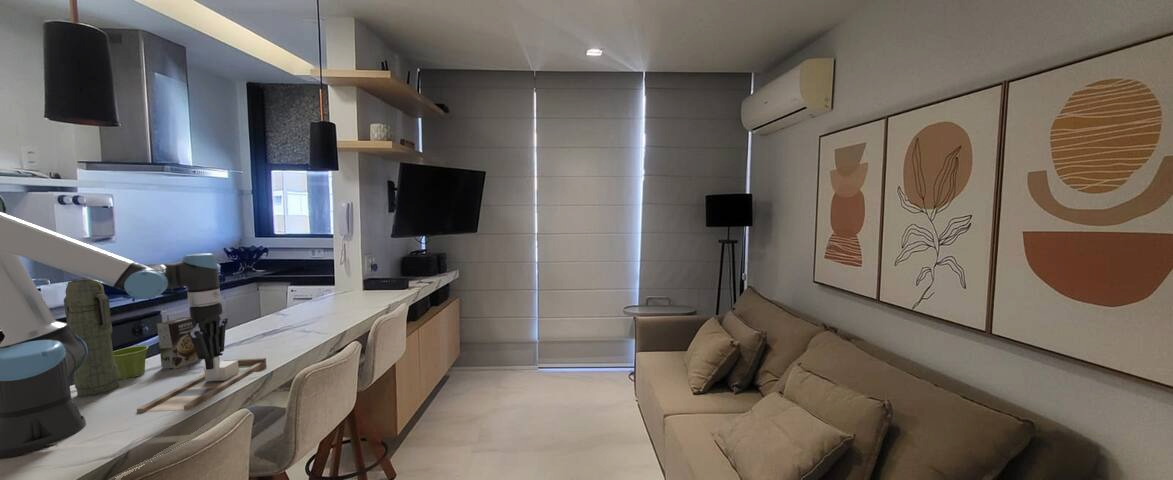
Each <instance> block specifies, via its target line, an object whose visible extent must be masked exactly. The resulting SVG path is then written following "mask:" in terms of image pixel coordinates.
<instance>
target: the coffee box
mask: <svg viewBox="0 0 1173 480" xmlns="http://www.w3.org/2000/svg"><path fill="white" fill-rule="evenodd" d="M194 323H195V320H194V319H192V318H191V317H190V316H187V317H186V316H185V317H179V318H175V319H172V320H167V321H162V322H159V323H156V325H157V335H158V345H159V346H158V347H159V353H160V354H159V355H160V365H161V368H162V367H163V368H162V369H169V368H173V370H176V369H179V368H180V369H181V368H182V367H185V366H188V365H191V364H194V363H197V362H199V361H202V360H203V359H198V357H197V354H196V351H195V348H194V345H193V343H192V340H191V338H190V337H189V336H188V332H189V331H193V329H194Z"/></svg>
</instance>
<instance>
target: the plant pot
mask: <svg viewBox="0 0 1173 480" xmlns="http://www.w3.org/2000/svg"><path fill="white" fill-rule="evenodd" d="M148 350H149V346H148V345H137V346H131V347H126V348H125V347H124V348H120V349H117V350H113V357H114V362H115V363H116V365H117V367H118V375H119V379H120V380H125V379H124V378H126V379H127V378H131V377H132V378H136V377H139V376H142V375H143V374H144V373H145V372H146V359H147V358H146V356H147V352H148ZM135 376H136V377H135ZM119 379H118V380H119Z"/></svg>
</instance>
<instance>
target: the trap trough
mask: <svg viewBox="0 0 1173 480" xmlns="http://www.w3.org/2000/svg"><path fill="white" fill-rule="evenodd" d="M235 360H236V359H226V360H225V359H224V360H223V361H235ZM237 360H238V366H239V373H238V374H236V375H234V376H233V377H231V378H229V379H227V380H222V381H206V382H205V373H203V374H201V375H199V376H197V377H196V378H194V379H192V380H190V381H187V382H186V383H184V384H183V385H180V386H178V387H176V388H174V389H172V390H170V391H169V392H167V393H165V394H163V395H161V396H159V397H157V398H155V399H153V400H152V401H150V402H147V403H146V404H144V405H141V406H139V407H138V408H137V409H136V413H137V414H138V413H139V414H140V413H141V414H142V413H153V412H166V411H167V412H168V411H181V410H182V411H183V410H192V409H193V408H195V407H197V406H198V405H200V404H202V403H203V402H205V401H206V400H208V399H210V398H211V397H213V396H215V395H216V394H218V393H220V392H221V391H223V390H225V389H227V388H228V387H230V386H231V385H233V384H235V383H236V382H238V381H240V380H241V379H243V378H245V377H246V376H248V375H250V374H252V373H257V372H260V371H261V370H263V369H264V368H266V367H267V366H268V365H267V358H266V357H260V358H243V359H237Z"/></svg>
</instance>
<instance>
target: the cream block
mask: <svg viewBox="0 0 1173 480" xmlns="http://www.w3.org/2000/svg"><path fill="white" fill-rule="evenodd" d="M234 360H235V361H224V360H221V361H220V360H219V362H220V364H219V367H220V376H221V377H219V378H217V379H208V377H207V370H206V367H205V368H203V370H204V372H203V374H205V382H206V381H222V380H227V379H229V378H231V377H233V376H234V375H236V374H238V373H239V366H238V359H234Z"/></svg>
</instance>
